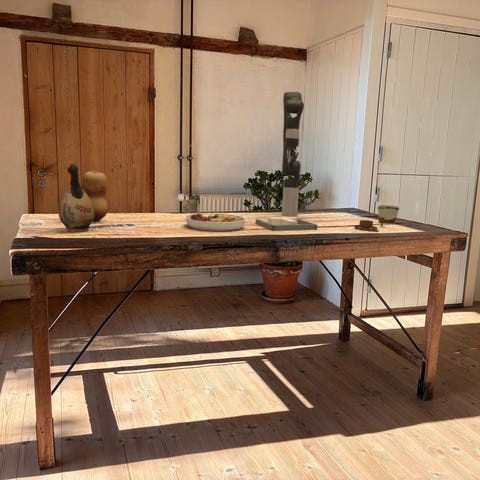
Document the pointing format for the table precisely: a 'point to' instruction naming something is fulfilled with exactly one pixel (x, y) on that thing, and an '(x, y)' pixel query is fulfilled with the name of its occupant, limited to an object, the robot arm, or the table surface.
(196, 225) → the bowl
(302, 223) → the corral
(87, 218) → the ceramic jug
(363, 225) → the place setting
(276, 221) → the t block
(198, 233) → the table surface
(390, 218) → the food container
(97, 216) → the brown hourglass-shaped piece
